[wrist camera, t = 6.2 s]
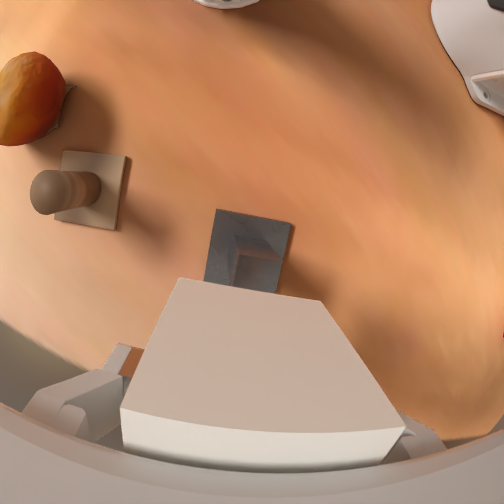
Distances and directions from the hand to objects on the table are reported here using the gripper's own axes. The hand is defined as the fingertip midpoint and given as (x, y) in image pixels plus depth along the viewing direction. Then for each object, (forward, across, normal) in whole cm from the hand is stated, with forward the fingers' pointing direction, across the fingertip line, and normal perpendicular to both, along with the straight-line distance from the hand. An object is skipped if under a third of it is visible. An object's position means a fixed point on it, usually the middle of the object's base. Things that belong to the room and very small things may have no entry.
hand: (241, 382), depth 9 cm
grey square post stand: (+16, -1, -1) cm, 16 cm away
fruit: (+16, +20, -10) cm, 28 cm away
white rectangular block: (+2, 0, 0) cm, 2 cm away
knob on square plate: (+15, +13, -4) cm, 21 cm away
